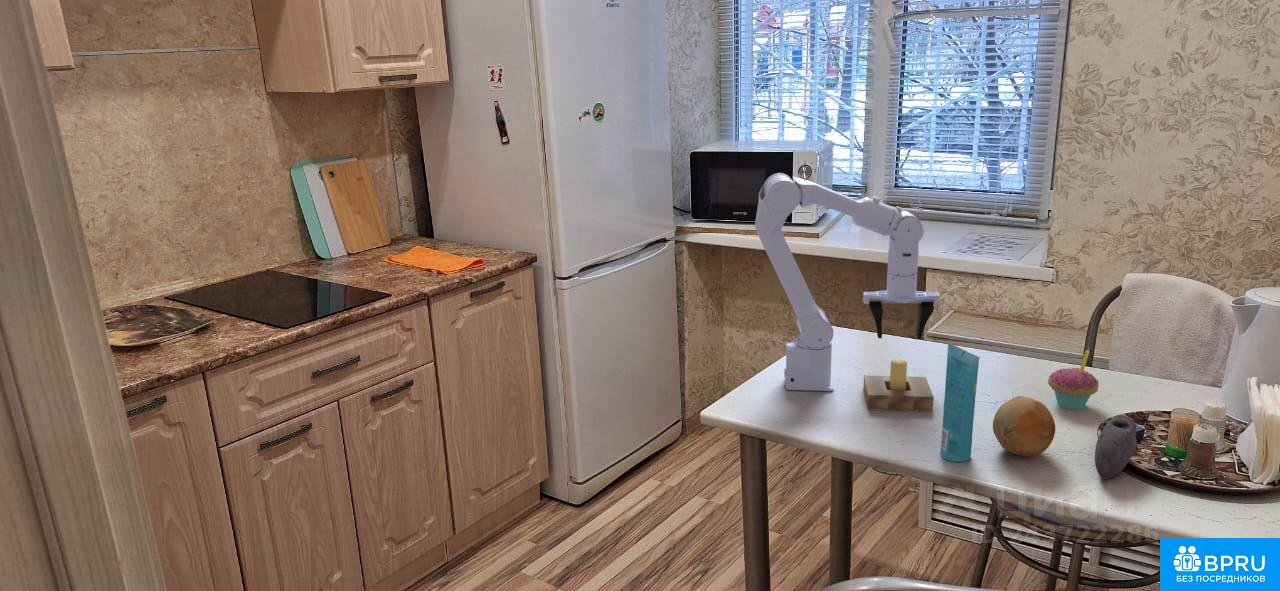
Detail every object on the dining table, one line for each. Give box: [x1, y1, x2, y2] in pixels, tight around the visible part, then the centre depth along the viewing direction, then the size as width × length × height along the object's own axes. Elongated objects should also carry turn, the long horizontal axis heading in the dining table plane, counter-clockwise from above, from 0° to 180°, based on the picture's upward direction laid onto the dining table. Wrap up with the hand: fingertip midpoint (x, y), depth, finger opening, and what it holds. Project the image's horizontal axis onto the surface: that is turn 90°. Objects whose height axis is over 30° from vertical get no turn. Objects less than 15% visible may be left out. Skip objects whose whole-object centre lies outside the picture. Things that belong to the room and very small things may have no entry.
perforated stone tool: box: [1094, 413, 1138, 479], centre depth 142 cm, size 15×5×7 cm, turn 140°
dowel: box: [889, 358, 908, 390], centre depth 170 cm, size 3×3×8 cm
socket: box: [862, 374, 935, 412], centre depth 171 cm, size 12×10×3 cm
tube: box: [940, 342, 981, 463], centre depth 146 cm, size 7×5×19 cm, turn 26°
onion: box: [992, 395, 1056, 457], centre depth 147 cm, size 10×10×10 cm
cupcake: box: [1047, 346, 1099, 411], centre depth 165 cm, size 9×8×12 cm
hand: (898, 337), depth 177 cm, fingers open, 7 cm apart
